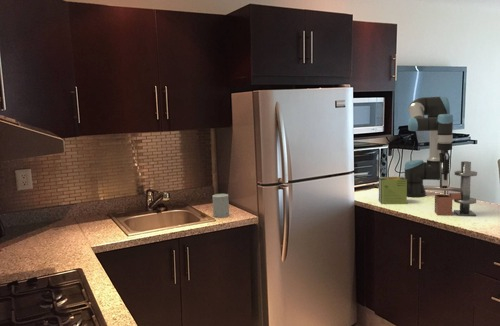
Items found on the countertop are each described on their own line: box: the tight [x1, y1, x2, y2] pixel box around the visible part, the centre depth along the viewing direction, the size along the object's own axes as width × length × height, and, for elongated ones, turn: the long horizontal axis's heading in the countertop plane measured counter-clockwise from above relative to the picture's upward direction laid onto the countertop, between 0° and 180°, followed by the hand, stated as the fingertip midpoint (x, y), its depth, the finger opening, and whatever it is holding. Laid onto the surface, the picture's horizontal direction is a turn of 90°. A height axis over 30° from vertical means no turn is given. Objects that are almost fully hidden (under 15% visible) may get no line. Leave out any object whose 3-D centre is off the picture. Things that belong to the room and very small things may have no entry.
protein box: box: [378, 176, 408, 205], centre depth 267 cm, size 10×15×16 cm
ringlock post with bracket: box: [434, 160, 478, 217], centre depth 234 cm, size 11×20×29 cm, turn 78°
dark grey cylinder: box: [439, 162, 449, 189], centre depth 234 cm, size 4×4×14 cm
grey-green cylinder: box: [211, 193, 230, 219], centre depth 251 cm, size 10×10×12 cm
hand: (443, 184), depth 235 cm, fingers closed on dark grey cylinder, 4 cm apart
